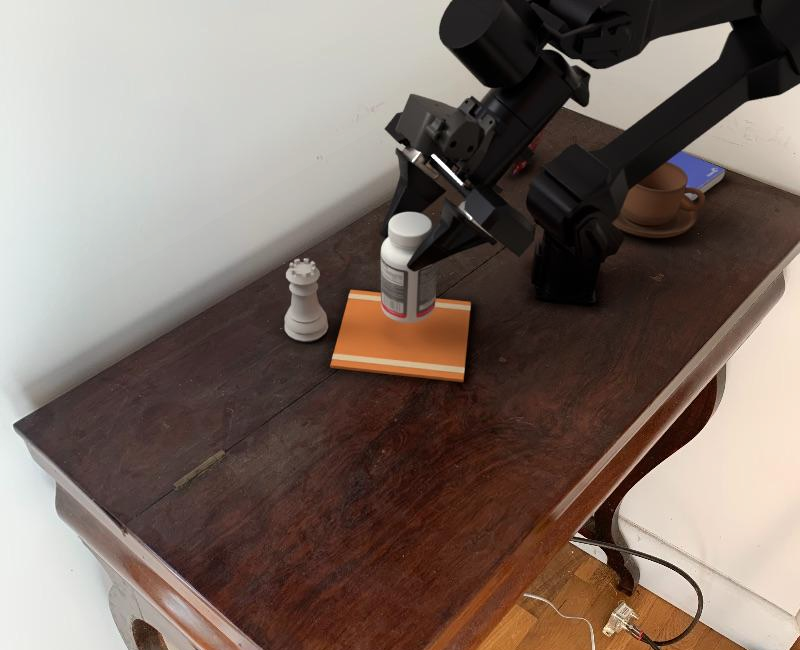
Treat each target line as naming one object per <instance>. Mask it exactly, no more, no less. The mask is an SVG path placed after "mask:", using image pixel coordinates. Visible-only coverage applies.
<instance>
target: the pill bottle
mask: <svg viewBox="0 0 800 650" xmlns="http://www.w3.org/2000/svg"><path fill="white" fill-rule="evenodd" d="M432 229H433V222H432V220H431V219H430V218H429V217H428V216H427V215H425V214H423V213H416V212H403V213H399V214H397V215H395V216H393V217H392V218H391V219H390V221H389V225H388V235H389V237H388V238H387V239H384V240H383V242H382V244H381V247H380V293H381V307H382V310H383V312H384V314H385V315H386V316H388V317H389V318H390V319H392V320H394V321H397V322H401V323H416V322H420V321H423V320H424V319H426V318H428V317H429V316H430V315H431V314H432V313H433V311H434V308H435V301H436V298H437V284H438V283H437V282H438V267H439V266H438V264H439V261H438V262H436V263H434V264H432V265H429V266H427V267H425V268H423V269H421V270H418V271H416V272H413V271H411V270H410V269H408V267H407V263H408V262H409V260H410V258H411V257H412V255H413V254H414V252H415V251H416V250H417V248H418V247H419V246H420V245H421V243H422V242H423V241H424V240H425V238H426V237H427V236H428V234H429V233H430V232H431V231H432Z"/></svg>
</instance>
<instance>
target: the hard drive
mask: <svg viewBox="0 0 800 650" xmlns="http://www.w3.org/2000/svg"><path fill="white" fill-rule="evenodd" d="M667 162H670V163H672V164H675V165H677V166H678V167H680V168H681V169H682V170H683V171H684V172H685V173H686V174H687V177H688V182H687V185H686V187H693V188H697V189H699V190H701V191H702V192H703V194H704V193H706V192H707V191H708V190H710V189H711V188H713V187H714V186H715V185H716V184H718V183H719V182H721V181H722V179H723V178H724V176H725V174H726V169H724V168H722V167H720V166H718V165H715V164H712V163H710V162H708V161H706V160H704V159H700V158H698V157H695V156H693V155H691V154H689V153H686V152H684V151H680V152H679V153H678V154H676V155H675V156H674V157H672V158H671V159H670V160H668V161H667ZM685 195H686V196H687V197H689V198H690V199H691V200H692V201H695V200H696V199H697V198H699V197H698V196H697V195H696V194H694V193H686V194H685Z"/></svg>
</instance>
